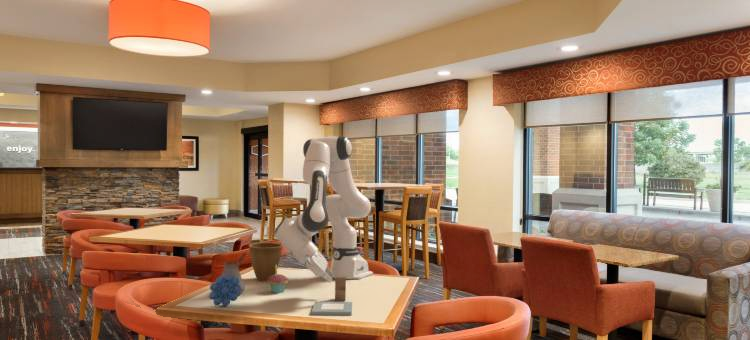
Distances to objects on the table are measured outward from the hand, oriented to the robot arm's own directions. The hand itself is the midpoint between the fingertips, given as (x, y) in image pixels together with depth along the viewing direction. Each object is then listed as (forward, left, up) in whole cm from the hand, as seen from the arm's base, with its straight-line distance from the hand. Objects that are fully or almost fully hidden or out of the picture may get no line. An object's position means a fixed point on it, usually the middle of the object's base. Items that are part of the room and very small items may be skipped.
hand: (331, 278), depth 213 cm
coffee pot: (+17, -38, -8) cm, 43 cm away
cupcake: (+5, -26, -8) cm, 28 cm away
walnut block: (-2, +3, -8) cm, 9 cm away
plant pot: (-7, -48, -8) cm, 50 cm away
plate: (+11, +11, -8) cm, 17 cm away
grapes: (+33, -23, -8) cm, 41 cm away
